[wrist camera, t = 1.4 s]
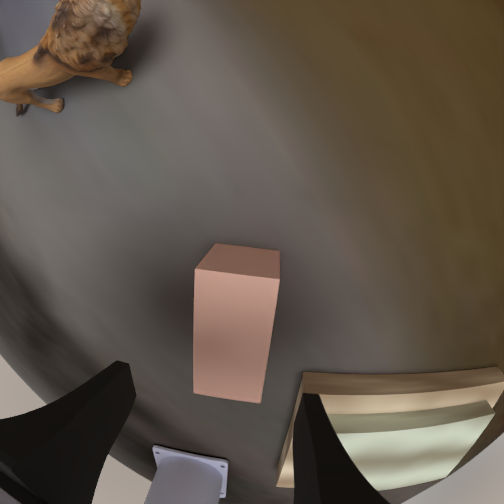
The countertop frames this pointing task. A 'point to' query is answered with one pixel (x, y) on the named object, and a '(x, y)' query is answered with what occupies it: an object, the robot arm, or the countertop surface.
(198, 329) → the terracotta brick
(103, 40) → the lion figurine
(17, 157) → the countertop surface
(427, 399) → the tower base
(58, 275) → the countertop surface
